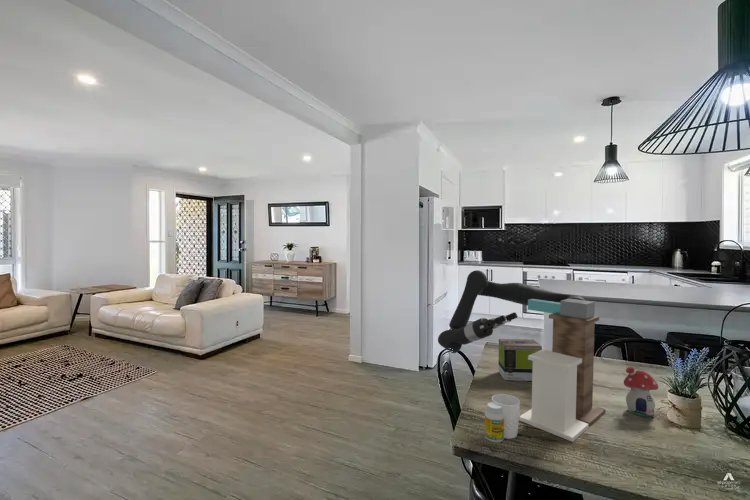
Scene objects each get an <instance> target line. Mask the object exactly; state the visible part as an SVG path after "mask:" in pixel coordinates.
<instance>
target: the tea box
mask: <svg viewBox="0 0 750 500" xmlns="http://www.w3.org/2000/svg"><path fill="white" fill-rule="evenodd" d="M540 350H543V347H542V345H541V344H539V343H538V342H537V341H535V339H519V338H518V339H516V338H514V339H513V338H499V339H498V372H499V374H500V375H501V377H502V379H503V380H504V381H524V382H525V381H526V382H532V370H533V361H532V360H528V356H529V355H531V354H533V353H536V352H538V351H540Z"/></svg>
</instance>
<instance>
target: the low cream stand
mask: <svg viewBox="0 0 750 500" xmlns="http://www.w3.org/2000/svg"><path fill="white" fill-rule="evenodd" d="M528 360H532V361H533V370H532V381H531V383H532V384H531V385H532V386H531V408H530V409H529V410H527V411H526V412H524V413H523V414H521V415H519V422H522V423H525V424H527V425H530V426H532V427H535V428H537V429H540V430H543V432H548V433H549V434H552V435H555V436H557V437H560V438H562V439H565V440H567V441H569V442H572V443H573V442H574V441H576V440H577V439H578V438H579V437H580V436H582V434H584V433H585V432H586V431H587V430H588V429H589V424H588V423H585V422H582V421H579V420H576V387H577V365H579V364H580V363H582V359H581V358H577V357H573V356H568V355H564V354H560V353H556V352H552V351H551V350H546V349H542V350H540V351H538V352H536V353H533V354H531V355H529V356H528Z"/></svg>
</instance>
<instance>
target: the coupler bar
mask: <svg viewBox="0 0 750 500" xmlns="http://www.w3.org/2000/svg"><path fill="white" fill-rule="evenodd" d="M585 300H586V299H585ZM585 300H577V299H565V300H561V301H560V302H552V301H545V300H538V299H529V300H528V306H527V310H528V311H534V312H541V313H549V314H559V315H560V316H565V317H572V318H578V319H584V320H587V319H590V318H593V317H594V316H595V310H596V309H595V308H596V306H595V305H596V301H591V300H586V301H585Z"/></svg>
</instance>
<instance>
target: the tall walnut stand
mask: <svg viewBox="0 0 750 500" xmlns="http://www.w3.org/2000/svg"><path fill="white" fill-rule="evenodd" d="M548 319H551V320H552V349H551V350H552V352H556V353H560V354H564V355H568V356H573V357H577V358H581V359H582V363H580V364H579V365H577V387H576V420H579V421H582V422H585V423H588V424H589V427H591V426H592V425H594V424H595V423H596V421H598V420H599V419H600V418H601V417H602V416H604V415H605V414H606V408H604V407H600V406H597V405H594V404H593V397H594V395H593V394H594V391H593V390H594V388H593V387H594V357H595V356H594V355H595V326H596V325H595V324H596V322H599V321H600V316H596V315H594V317H593V318H590V319H587V320H584V319H578V318H572V317H565V316H560V315H559V314H553V313H549V314H548Z"/></svg>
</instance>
